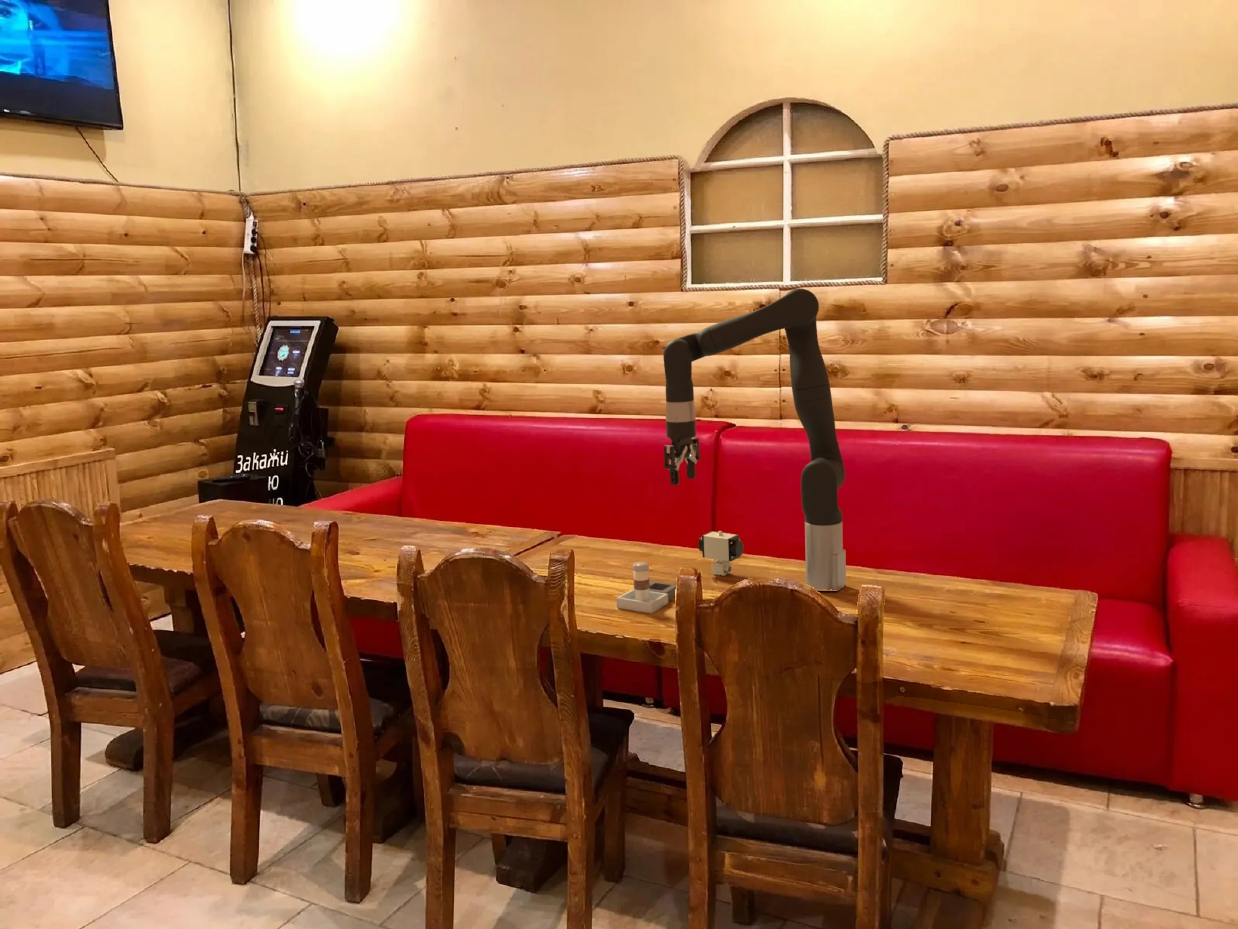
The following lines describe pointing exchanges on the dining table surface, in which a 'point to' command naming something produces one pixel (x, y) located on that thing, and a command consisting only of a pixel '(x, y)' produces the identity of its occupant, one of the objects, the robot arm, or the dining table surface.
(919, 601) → the dining table surface
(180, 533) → the dining table surface
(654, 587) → the dark gray recessed holder
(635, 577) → the fuse
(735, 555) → the pneumatic valve
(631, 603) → the tray
